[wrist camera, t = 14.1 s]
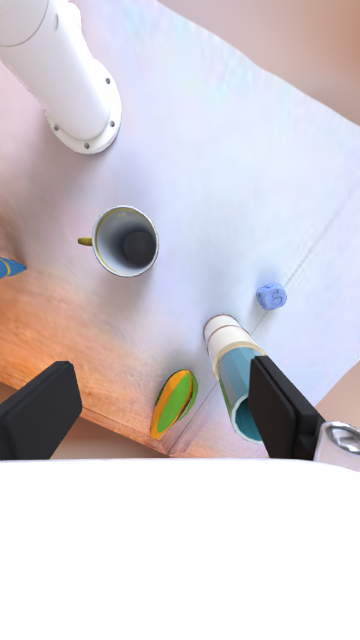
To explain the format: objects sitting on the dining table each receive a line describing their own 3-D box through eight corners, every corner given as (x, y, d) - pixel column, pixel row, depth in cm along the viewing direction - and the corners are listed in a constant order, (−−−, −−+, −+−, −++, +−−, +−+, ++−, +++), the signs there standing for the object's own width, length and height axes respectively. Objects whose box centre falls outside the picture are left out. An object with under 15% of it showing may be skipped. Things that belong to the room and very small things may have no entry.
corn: (207, 391, 37) (164, 460, 43) (205, 371, 45) (169, 432, 50) (172, 374, 37) (134, 446, 42) (177, 357, 45) (144, 420, 50)
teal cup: (217, 347, 27) (232, 386, 18) (268, 346, 26) (308, 385, 18) (216, 390, 29) (229, 444, 20) (263, 389, 28) (298, 444, 20)
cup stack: (203, 314, 41) (212, 342, 26) (241, 313, 41) (273, 341, 26) (203, 350, 44) (212, 393, 29) (239, 349, 43) (267, 393, 28)
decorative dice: (273, 282, 39) (282, 283, 35) (279, 299, 40) (289, 303, 36) (254, 290, 40) (261, 293, 36) (260, 307, 40) (268, 312, 37)
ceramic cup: (166, 222, 37) (159, 207, 27) (164, 276, 39) (157, 279, 30) (99, 218, 37) (68, 201, 27) (101, 272, 40) (74, 274, 30)
